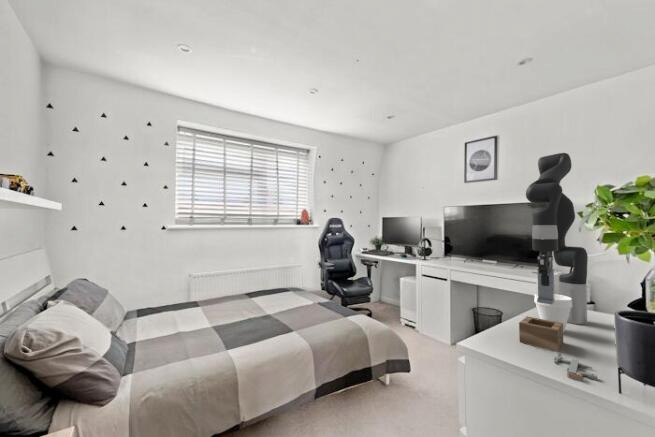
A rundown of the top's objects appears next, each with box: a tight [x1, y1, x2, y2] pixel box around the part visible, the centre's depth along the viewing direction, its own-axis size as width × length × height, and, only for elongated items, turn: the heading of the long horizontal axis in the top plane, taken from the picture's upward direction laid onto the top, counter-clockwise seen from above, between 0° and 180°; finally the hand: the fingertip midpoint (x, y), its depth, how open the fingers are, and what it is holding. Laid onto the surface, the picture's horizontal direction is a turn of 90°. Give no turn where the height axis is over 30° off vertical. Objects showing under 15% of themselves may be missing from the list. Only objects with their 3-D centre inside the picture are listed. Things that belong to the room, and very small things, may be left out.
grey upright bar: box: [537, 268, 555, 305], centre depth 104 cm, size 4×4×12 cm
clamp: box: [553, 352, 598, 382], centre depth 84 cm, size 15×2×10 cm
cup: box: [533, 292, 572, 334], centre depth 117 cm, size 12×12×14 cm
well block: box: [518, 315, 564, 353], centre depth 104 cm, size 11×11×7 cm
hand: (545, 284), depth 104 cm, fingers closed on grey upright bar, 2 cm apart
